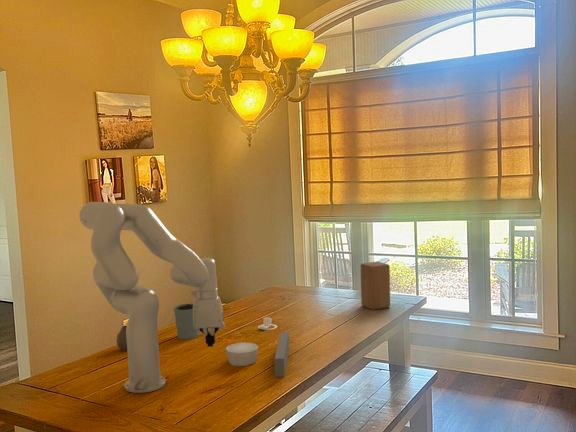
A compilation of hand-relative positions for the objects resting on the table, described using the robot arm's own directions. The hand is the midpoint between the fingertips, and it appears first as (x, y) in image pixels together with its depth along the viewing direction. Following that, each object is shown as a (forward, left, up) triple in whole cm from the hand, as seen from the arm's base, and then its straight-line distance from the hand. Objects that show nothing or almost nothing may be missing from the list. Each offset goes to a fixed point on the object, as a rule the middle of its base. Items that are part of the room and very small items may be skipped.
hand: (210, 345), depth 200 cm
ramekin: (-1, -11, -6) cm, 13 cm away
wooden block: (+68, -63, -6) cm, 93 cm away
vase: (+14, +35, -6) cm, 38 cm away
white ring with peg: (+39, -13, -6) cm, 42 cm away
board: (-1, -25, -6) cm, 26 cm away
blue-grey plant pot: (+29, +15, -6) cm, 33 cm away
